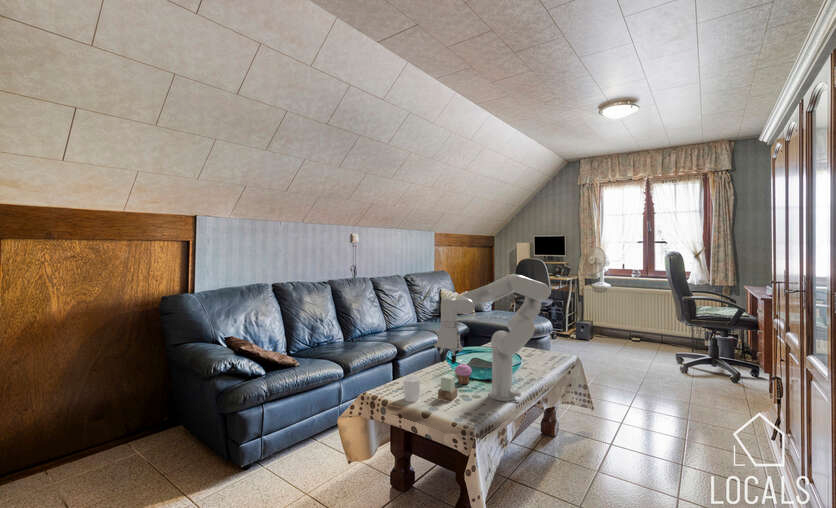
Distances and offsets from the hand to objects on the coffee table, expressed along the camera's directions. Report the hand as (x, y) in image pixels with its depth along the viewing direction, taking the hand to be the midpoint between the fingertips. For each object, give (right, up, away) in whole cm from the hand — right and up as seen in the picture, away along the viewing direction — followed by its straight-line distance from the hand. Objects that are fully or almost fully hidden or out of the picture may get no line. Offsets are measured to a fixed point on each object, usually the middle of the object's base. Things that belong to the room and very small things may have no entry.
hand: (448, 362), depth 186 cm
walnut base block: (0, -17, 0) cm, 17 cm away
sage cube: (0, -13, 0) cm, 13 cm away
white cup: (-17, -17, -2) cm, 25 cm away
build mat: (0, -17, 0) cm, 17 cm away
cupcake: (+10, -17, +22) cm, 30 cm away
